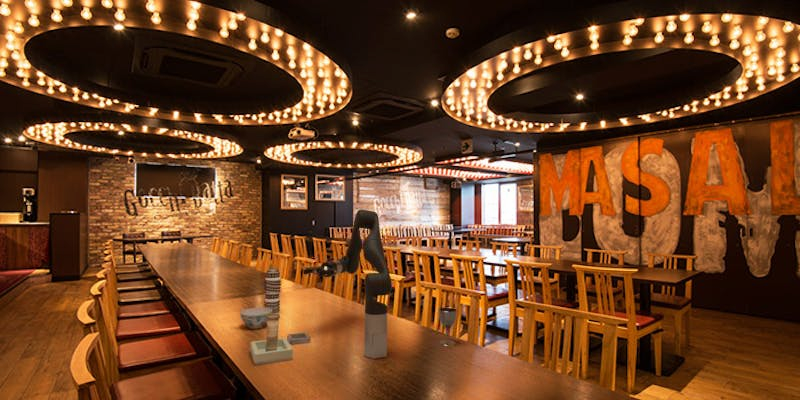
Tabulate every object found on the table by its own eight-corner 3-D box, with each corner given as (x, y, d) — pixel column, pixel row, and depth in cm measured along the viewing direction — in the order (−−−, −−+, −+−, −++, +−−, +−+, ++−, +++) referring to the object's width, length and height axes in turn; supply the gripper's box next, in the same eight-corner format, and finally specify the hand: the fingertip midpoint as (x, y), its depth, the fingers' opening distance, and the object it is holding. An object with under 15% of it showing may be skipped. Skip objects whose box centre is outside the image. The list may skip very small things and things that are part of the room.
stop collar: (311, 342, 176) (311, 337, 177) (290, 345, 172) (290, 340, 172) (306, 336, 185) (306, 332, 185) (286, 338, 181) (286, 334, 181)
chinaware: (234, 326, 199) (234, 311, 199) (262, 320, 210) (262, 306, 210) (248, 333, 188) (249, 316, 189) (277, 326, 199) (277, 311, 200)
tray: (292, 359, 156) (292, 349, 156) (254, 365, 150) (254, 354, 150) (285, 346, 170) (285, 337, 170) (250, 351, 164) (250, 341, 164)
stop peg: (278, 354, 159) (280, 316, 160) (265, 355, 157) (268, 317, 157) (276, 350, 163) (278, 313, 164) (263, 351, 161) (266, 314, 162)
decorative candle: (260, 315, 221) (261, 270, 221) (268, 311, 230) (269, 267, 230) (275, 316, 219) (276, 270, 220) (283, 312, 228) (284, 268, 229)
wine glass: (459, 343, 178) (460, 309, 179) (449, 347, 172) (449, 312, 173) (445, 339, 184) (445, 306, 184) (435, 343, 178) (435, 309, 178)
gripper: (319, 260, 200) (299, 263, 186) (343, 261, 195) (324, 265, 180) (319, 274, 200) (299, 279, 185) (343, 277, 194) (324, 282, 180)
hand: (311, 272), depth 183 cm, fingers open, 8 cm apart
